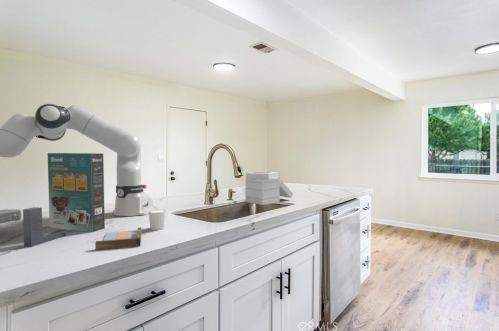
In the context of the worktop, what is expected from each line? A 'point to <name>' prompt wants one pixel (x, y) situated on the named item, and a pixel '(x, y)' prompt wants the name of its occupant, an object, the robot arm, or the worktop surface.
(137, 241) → the corner walls
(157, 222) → the white cylinder
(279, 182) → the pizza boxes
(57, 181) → the cake mix box
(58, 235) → the bracket
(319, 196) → the worktop surface
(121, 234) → the mat
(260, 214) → the worktop surface
